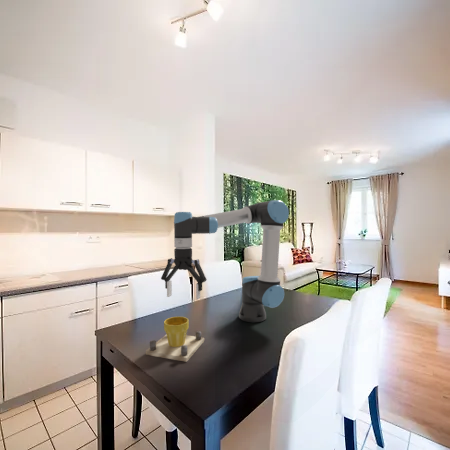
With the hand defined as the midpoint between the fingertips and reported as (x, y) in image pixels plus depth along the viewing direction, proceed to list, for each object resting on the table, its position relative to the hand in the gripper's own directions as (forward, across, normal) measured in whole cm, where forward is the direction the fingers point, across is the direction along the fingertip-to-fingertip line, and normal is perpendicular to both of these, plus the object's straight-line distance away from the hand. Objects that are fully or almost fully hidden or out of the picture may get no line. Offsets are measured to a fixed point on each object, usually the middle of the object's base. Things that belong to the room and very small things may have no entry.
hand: (183, 297), depth 108 cm
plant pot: (+19, -2, -2) cm, 20 cm away
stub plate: (+21, -2, -2) cm, 21 cm away
